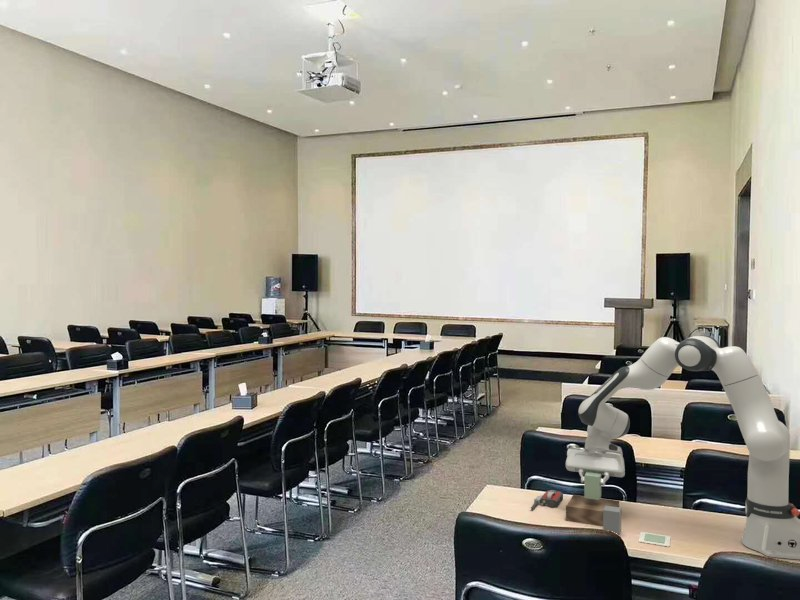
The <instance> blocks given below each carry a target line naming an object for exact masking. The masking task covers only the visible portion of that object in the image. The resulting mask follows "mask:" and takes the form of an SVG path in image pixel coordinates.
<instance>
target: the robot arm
mask: <svg viewBox="0 0 800 600" xmlns="http://www.w3.org/2000/svg"><path fill="white" fill-rule="evenodd" d="M678 366H679V367H680V368H682V369H684V370H686V371H690V372H708V371H709V372H710V371H713V372H714V373H715V374H716V375H717V377H718V379H719V381H720V384H721V385H722V388H723V391H724V392H725V394H726V397H727V399H728V401H729V403H730V405H731V407H732V410H733V412H734V416H735V418H736V422H737V425H738V427H739V430H740V432H741V435H742V438H743V439H744V440H743V441H744V443H745V445H746V448H747V451H748V454H749V455H748V465H747V466H748V467H747V497H746V498H745V504H744V505H745V509H744V511H745V515H746V519H745V520H746V522H745V526H744V531H743V534H742V538H741V539H740V542H741V543H742V544H743V546H745V547H747V548H749V549H751V550H753V551H756V552H757V553H758V552H759V553H760V554H762V555H765V556H767V557H768V558H769V557H770V558H779V559H787V560H788V559H789V560H790V559H791V560H800V518H798V517H799V516H800V511H799V509H798V508H797V506H795V505H794V504H793V503H791V502H789V487H790V486H789V480H790V479H789V475H790V453H791V435H790V431H789V429H788V428H787V426H786V425H785V424H784V423H783V422H782V421H780V420H779V419H778V416H777V414H776V412H775V408H774V406H773V403H772V400H771V397H770V395H769V393H768V392H767V388H766V386H765V384H764V383H763V381H762V378H761V377H760V374H759V372H758V370H757V368H756V366H755V364H754V363H753V362H752V360H751V358H750V357H749V355H748V354H747V353H746V352H745V350H744V349H742V348H741V347H740V346H734V345H733V346H725V347H721V345H720V344H719V342H718V341H717V340H716V339H715V338H713V337H712V336H709V335H704V334H703V335H693V336H690V337H687V338H686V339H684V340H682V341H680V342H679V341H677V340H675V339H673V338H671V337H667V336H662V337H659V338H658V339H657V340H655V341H654V342H653V343H652V344H651V345H650V346H649V347H648V348H647V349H646V350H645V351H644V353H643V354H642V355H641V356H640V358H639V359H638V360H637V361H636V362H634V363H633V364H630V365H627V366H622V367H620V368H619V369H618V370H616V371H615V372H614V373H613V374H611V376H610V377H609V378H608V379H606V380H605V382H604V383H602V384H601V385H600V386H599V387H598V388H597V389H596V390H595V391H594V392H593V393H592V394H591V395H589V396H588V397H586V398H585V399H584V400H582V402H581V403H580V405H579V407H578V410H577V414H578V417H579V419H580V421H581V423H582V424H584V425H587V428H586V429H587V430H586V432H587V436H586V438H585V443H584V447H576V446H572V447H569V448H568V449H567V451H566V456H567V457H566V460H565V468H566V470H567V471H569V472H574V473H575V472H576V473H577V472H578V474H579V477H580V484H584V477H585V474H586V472H594V473H601V476H604V477H603V478H601V479H600V485H601V487H602V486H603V487H605V486H606V482H607V481H608V480H609V479H610V477H616V478H624V477H625V474H626V472H625V471H626V469H625V467H626V466H625V459H624V457H623V455H624V454H623V450H622V447H621V446H618V445H616V444H614V443H611V441H612V440H616V439H619V438H623V437H624V436H626V435H627V434H628V433H629V429H630V427H631V425H630V424H631V420H630V416H629V414H628V413H626V412H624V411H623V410H620V409H619V408H616V407H615V406H612V405H610V404H608V403H607V401H609V400H610V399H611V398H612V397H613V396H614V395H615V394H616V393H617V392H618V391H620V390H623V389H639V390H646V391H648V390H655V389H658V388H660V387H661V386H662V385H664V383H666V381H667V380H668V379H669V377H670V376H671V375H672V373H673V372H674V371H675V370H676V369H677V368H678Z"/></svg>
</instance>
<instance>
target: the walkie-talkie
mask: <svg viewBox="0 0 800 600" xmlns="http://www.w3.org/2000/svg"><path fill="white" fill-rule="evenodd" d="M563 500H564V493H563V492H562V491H560V490H559V491H558V490H554V489H549V490H546V491H545V492H544V494H542V495H537V496H536V498H534V499H533V501H534V502H533V504H532V505H531V506H530V509H531V510H534V509H535V508H536V507H537V505H538V506H541V507H548V508H553V509H554V508H555V509H558V508H559V507H560V504H561V503H562V502H563Z"/></svg>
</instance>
